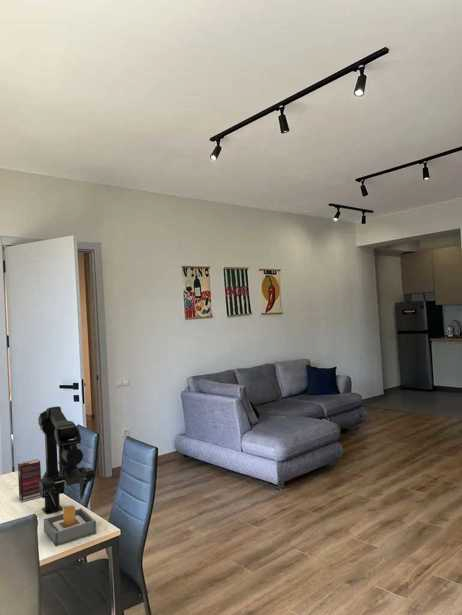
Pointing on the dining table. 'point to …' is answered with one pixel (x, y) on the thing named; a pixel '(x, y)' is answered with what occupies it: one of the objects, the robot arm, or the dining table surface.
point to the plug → (69, 516)
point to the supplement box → (29, 480)
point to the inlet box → (64, 535)
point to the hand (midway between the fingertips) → (68, 502)
